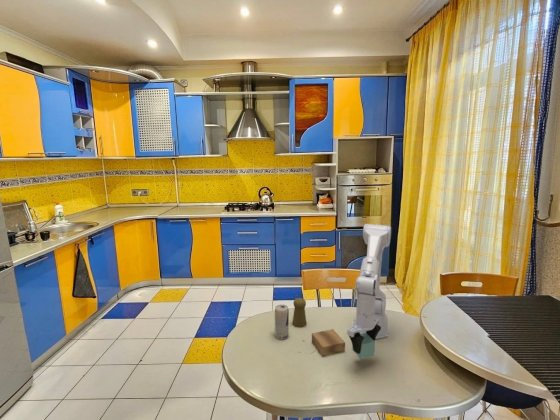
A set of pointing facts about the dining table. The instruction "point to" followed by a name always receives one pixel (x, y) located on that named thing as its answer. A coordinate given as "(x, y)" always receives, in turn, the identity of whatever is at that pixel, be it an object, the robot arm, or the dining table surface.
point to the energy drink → (281, 321)
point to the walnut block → (328, 342)
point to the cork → (299, 313)
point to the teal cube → (366, 347)
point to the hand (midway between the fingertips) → (363, 348)
